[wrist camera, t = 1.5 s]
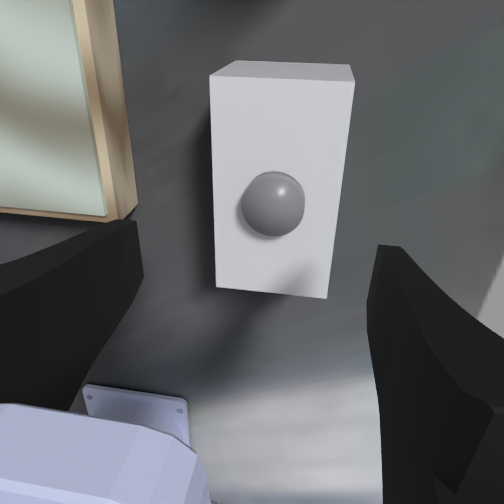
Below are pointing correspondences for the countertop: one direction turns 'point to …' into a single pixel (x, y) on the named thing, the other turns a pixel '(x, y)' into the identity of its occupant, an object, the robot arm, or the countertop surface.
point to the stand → (63, 112)
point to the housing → (278, 172)
